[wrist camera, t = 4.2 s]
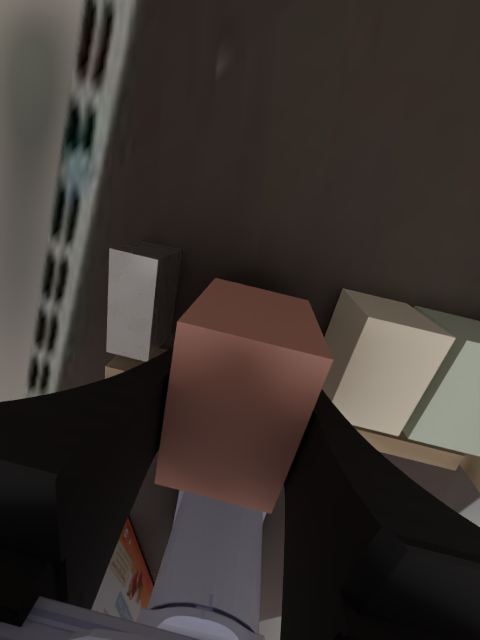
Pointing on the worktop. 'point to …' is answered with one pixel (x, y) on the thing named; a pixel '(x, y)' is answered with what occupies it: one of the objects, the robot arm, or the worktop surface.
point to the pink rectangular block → (240, 393)
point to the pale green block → (451, 390)
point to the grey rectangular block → (141, 298)
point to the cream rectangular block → (381, 359)
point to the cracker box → (125, 580)
